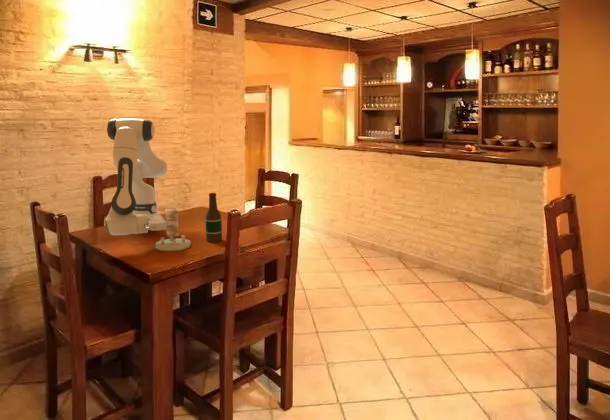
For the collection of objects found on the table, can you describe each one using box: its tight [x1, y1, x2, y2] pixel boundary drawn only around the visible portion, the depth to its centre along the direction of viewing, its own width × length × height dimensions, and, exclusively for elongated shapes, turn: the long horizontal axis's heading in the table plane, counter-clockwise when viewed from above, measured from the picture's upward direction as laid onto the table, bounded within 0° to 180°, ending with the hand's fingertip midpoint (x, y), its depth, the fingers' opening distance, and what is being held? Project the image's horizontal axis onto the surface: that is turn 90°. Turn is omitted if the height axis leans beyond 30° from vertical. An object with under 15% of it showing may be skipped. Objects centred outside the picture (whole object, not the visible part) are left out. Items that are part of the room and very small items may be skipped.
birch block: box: [164, 208, 180, 238], centre depth 231 cm, size 5×5×12 cm
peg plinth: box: [155, 234, 191, 252], centre depth 233 cm, size 16×16×5 cm
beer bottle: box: [204, 192, 223, 243], centre depth 243 cm, size 8×8×24 cm
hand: (173, 221), depth 232 cm, fingers closed on birch block, 5 cm apart
